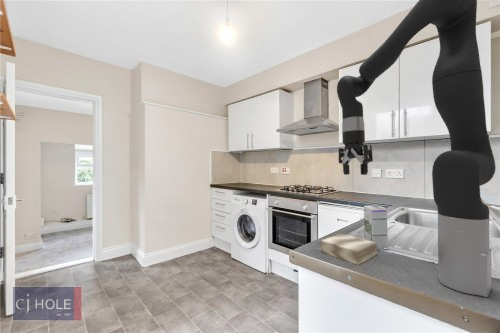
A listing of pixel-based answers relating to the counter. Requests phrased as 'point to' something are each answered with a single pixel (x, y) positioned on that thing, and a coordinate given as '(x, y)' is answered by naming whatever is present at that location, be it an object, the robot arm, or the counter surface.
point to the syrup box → (376, 225)
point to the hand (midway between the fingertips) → (354, 174)
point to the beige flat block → (349, 248)
